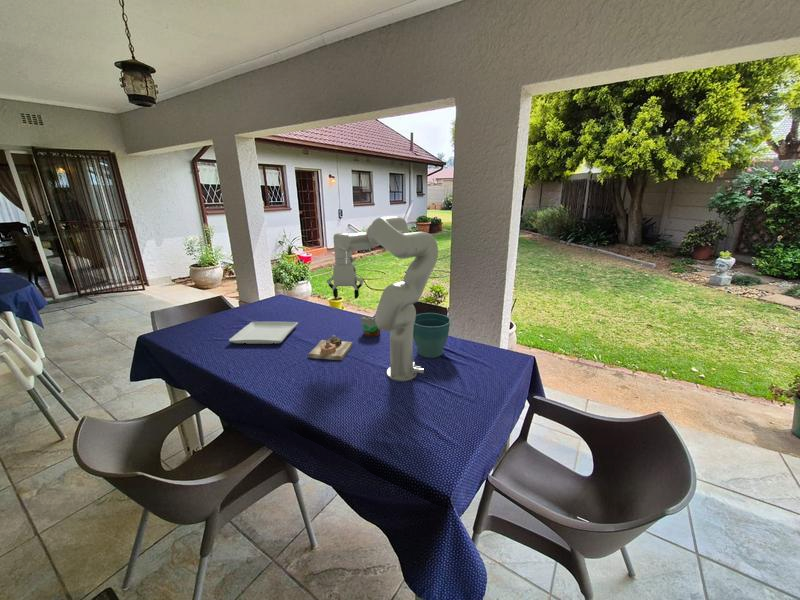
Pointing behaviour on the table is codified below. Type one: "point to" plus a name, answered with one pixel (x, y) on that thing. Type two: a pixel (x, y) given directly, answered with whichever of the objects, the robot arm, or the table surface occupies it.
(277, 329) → the square plate
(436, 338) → the flower pot
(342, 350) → the gear board
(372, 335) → the food container
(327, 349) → the terracotta gear
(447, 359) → the table surface
